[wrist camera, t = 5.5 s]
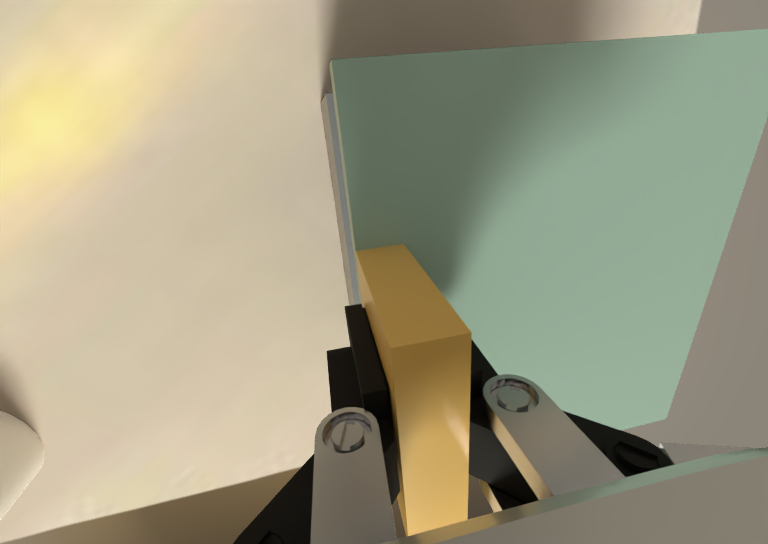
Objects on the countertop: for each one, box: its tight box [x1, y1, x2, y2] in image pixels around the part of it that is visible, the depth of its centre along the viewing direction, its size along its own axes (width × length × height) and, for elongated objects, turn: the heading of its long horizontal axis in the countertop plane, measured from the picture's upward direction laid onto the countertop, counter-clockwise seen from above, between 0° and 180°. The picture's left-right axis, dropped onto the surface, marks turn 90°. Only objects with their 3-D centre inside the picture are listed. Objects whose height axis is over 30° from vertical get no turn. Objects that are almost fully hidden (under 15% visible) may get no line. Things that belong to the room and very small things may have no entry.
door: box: [329, 29, 768, 537], centre depth 12 cm, size 16×14×7 cm
